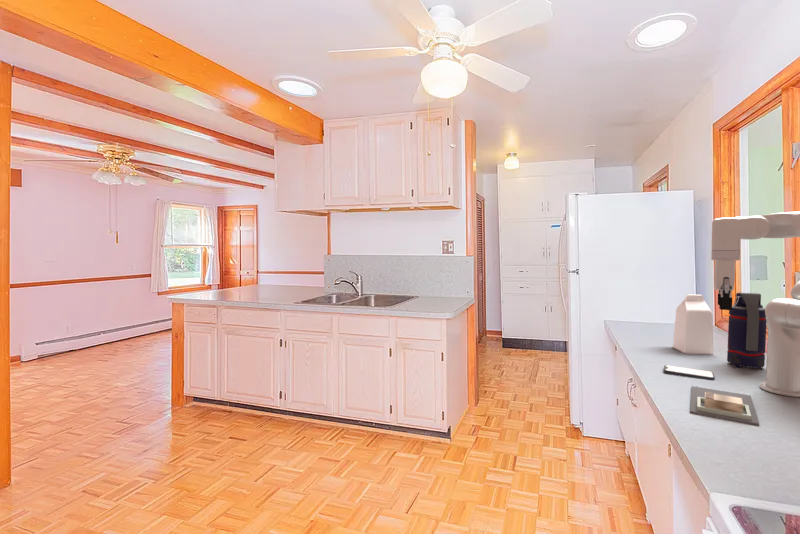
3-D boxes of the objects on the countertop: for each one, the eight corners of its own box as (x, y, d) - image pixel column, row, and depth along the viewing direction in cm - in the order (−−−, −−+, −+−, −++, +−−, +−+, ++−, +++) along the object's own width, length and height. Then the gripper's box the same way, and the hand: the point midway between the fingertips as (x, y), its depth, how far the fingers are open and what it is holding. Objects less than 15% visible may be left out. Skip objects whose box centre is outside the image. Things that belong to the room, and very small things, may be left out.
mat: (691, 387, 150) (691, 386, 150) (750, 397, 140) (750, 395, 140) (690, 412, 128) (690, 410, 128) (759, 425, 119) (759, 423, 119)
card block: (741, 409, 129) (741, 397, 129) (742, 416, 124) (743, 403, 124) (704, 403, 134) (705, 391, 134) (704, 409, 129) (705, 397, 129)
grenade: (723, 360, 182) (726, 290, 180) (759, 363, 177) (762, 291, 175) (732, 369, 170) (735, 294, 168) (770, 373, 165) (774, 295, 163)
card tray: (697, 410, 129) (697, 406, 129) (697, 400, 137) (697, 396, 137) (751, 420, 122) (751, 416, 122) (748, 409, 129) (748, 405, 129)
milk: (684, 353, 194) (686, 296, 193) (672, 346, 206) (674, 293, 204) (713, 354, 192) (716, 296, 191) (700, 347, 204) (702, 293, 202)
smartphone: (713, 375, 165) (664, 368, 173) (713, 371, 165) (664, 364, 173) (714, 382, 157) (663, 374, 166) (715, 378, 157) (664, 370, 166)
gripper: (710, 254, 149) (709, 302, 151) (712, 257, 135) (711, 310, 136) (737, 254, 145) (736, 304, 146) (743, 257, 131) (741, 312, 132)
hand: (724, 307), depth 141 cm, fingers open, 9 cm apart
